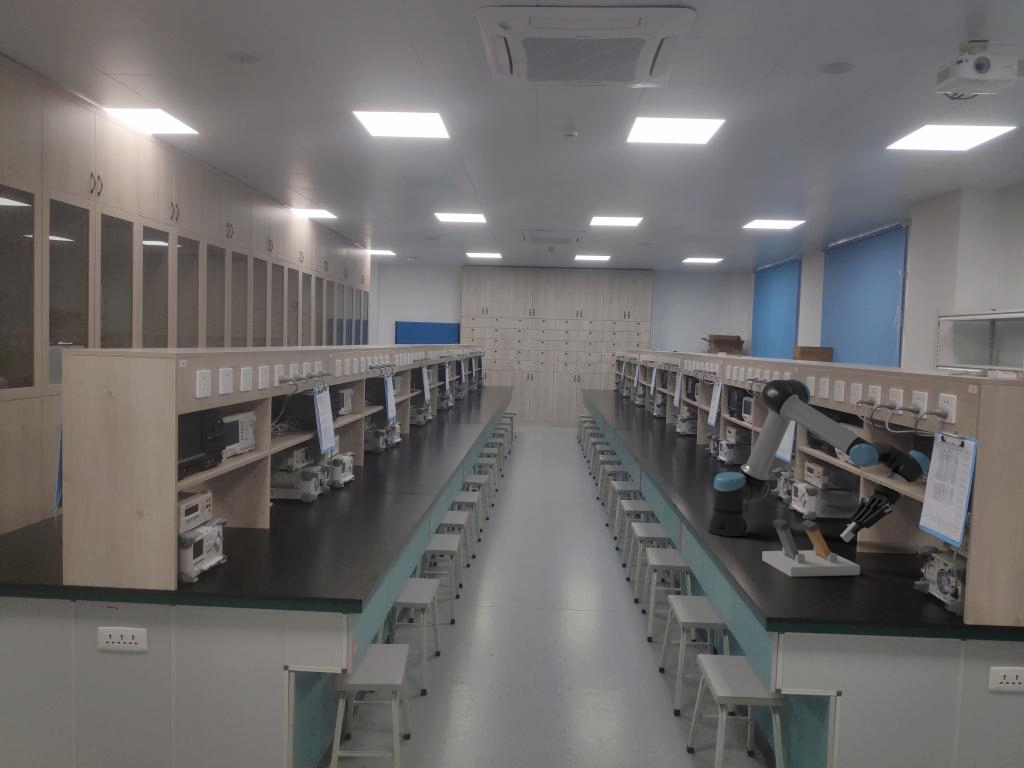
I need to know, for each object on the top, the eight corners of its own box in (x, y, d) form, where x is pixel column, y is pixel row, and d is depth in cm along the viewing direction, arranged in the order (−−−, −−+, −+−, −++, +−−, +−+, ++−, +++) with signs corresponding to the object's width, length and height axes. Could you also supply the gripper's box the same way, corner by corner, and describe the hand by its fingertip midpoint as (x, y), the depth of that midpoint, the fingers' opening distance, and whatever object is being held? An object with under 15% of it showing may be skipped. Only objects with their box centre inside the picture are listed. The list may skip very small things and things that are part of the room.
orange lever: (818, 556, 217) (800, 523, 216) (824, 552, 217) (807, 519, 216) (827, 561, 212) (810, 527, 210) (834, 557, 212) (816, 523, 211)
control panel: (762, 559, 220) (762, 544, 220) (826, 558, 224) (827, 543, 224) (790, 576, 204) (791, 559, 203) (859, 574, 207) (860, 558, 207)
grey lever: (786, 557, 215) (772, 521, 214) (792, 553, 216) (778, 518, 214) (795, 561, 210) (780, 525, 209) (802, 558, 210) (787, 522, 209)
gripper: (912, 501, 211) (864, 552, 209) (884, 493, 224) (838, 541, 222) (898, 485, 210) (849, 536, 208) (871, 477, 223) (824, 526, 221)
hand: (843, 539), depth 215 cm, fingers closed
